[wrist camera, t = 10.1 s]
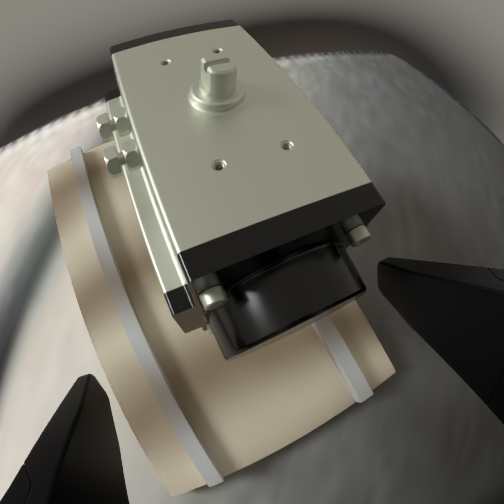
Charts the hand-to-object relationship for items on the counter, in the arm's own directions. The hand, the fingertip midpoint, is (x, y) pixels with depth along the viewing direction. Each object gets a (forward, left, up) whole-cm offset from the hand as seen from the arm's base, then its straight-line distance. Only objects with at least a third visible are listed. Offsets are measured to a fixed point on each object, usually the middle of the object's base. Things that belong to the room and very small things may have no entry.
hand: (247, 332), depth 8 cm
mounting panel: (+5, 0, -9) cm, 10 cm away
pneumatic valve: (+5, -1, -8) cm, 10 cm away
